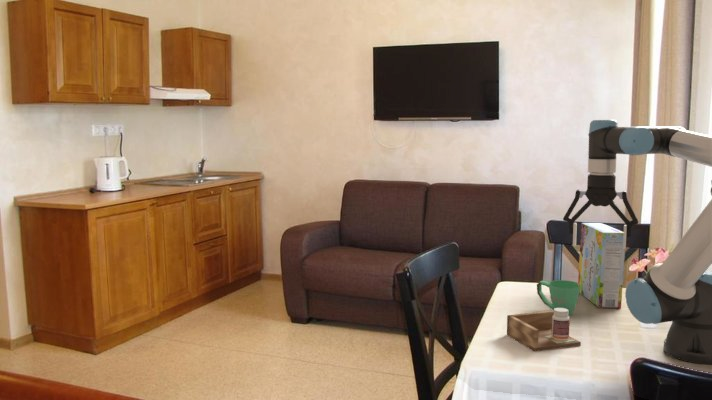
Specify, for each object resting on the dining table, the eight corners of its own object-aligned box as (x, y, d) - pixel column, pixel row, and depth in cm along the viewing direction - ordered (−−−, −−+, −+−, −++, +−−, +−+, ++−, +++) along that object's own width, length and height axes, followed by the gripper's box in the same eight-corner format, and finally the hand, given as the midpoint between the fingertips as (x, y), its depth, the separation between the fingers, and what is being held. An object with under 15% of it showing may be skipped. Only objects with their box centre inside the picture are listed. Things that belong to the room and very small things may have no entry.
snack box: (624, 308, 212) (628, 232, 209) (597, 308, 213) (601, 232, 209) (599, 291, 234) (603, 221, 231) (576, 291, 234) (579, 221, 231)
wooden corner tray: (580, 345, 179) (581, 324, 178) (534, 351, 174) (534, 330, 173) (550, 329, 192) (551, 310, 191) (506, 335, 187) (507, 315, 186)
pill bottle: (572, 340, 179) (573, 311, 178) (556, 341, 178) (557, 312, 177) (563, 334, 184) (564, 306, 183) (548, 336, 183) (549, 307, 182)
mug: (585, 314, 207) (586, 284, 205) (570, 320, 200) (571, 289, 199) (544, 304, 217) (545, 276, 216) (528, 310, 211) (529, 281, 209)
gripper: (648, 173, 182) (645, 247, 185) (557, 172, 192) (555, 241, 194) (649, 175, 175) (646, 251, 178) (555, 173, 185) (553, 246, 187)
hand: (599, 246), depth 186 cm, fingers open, 13 cm apart
